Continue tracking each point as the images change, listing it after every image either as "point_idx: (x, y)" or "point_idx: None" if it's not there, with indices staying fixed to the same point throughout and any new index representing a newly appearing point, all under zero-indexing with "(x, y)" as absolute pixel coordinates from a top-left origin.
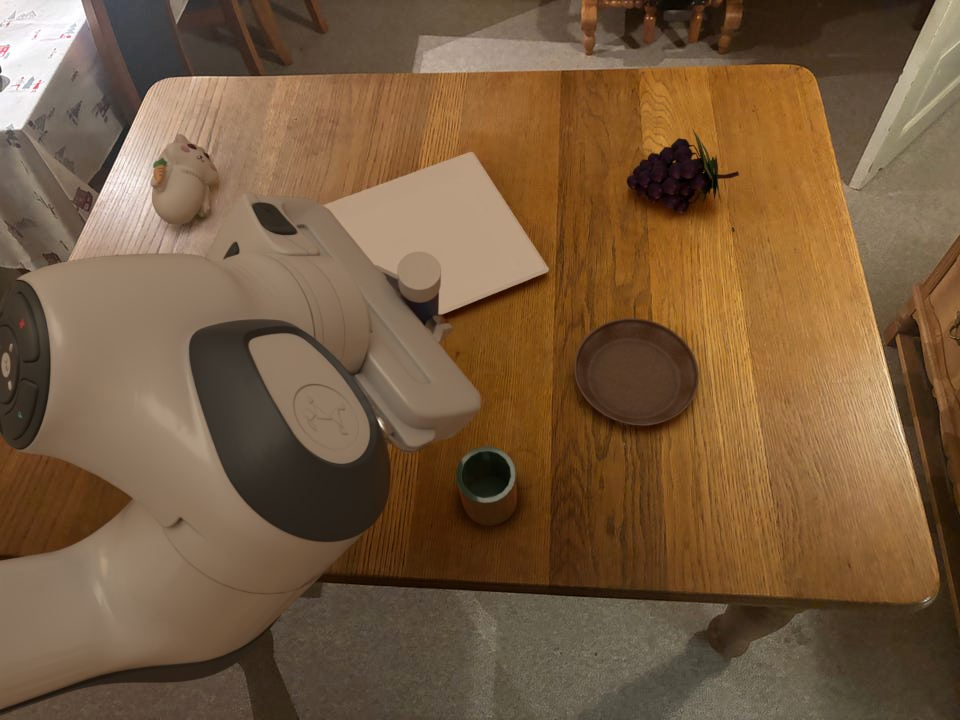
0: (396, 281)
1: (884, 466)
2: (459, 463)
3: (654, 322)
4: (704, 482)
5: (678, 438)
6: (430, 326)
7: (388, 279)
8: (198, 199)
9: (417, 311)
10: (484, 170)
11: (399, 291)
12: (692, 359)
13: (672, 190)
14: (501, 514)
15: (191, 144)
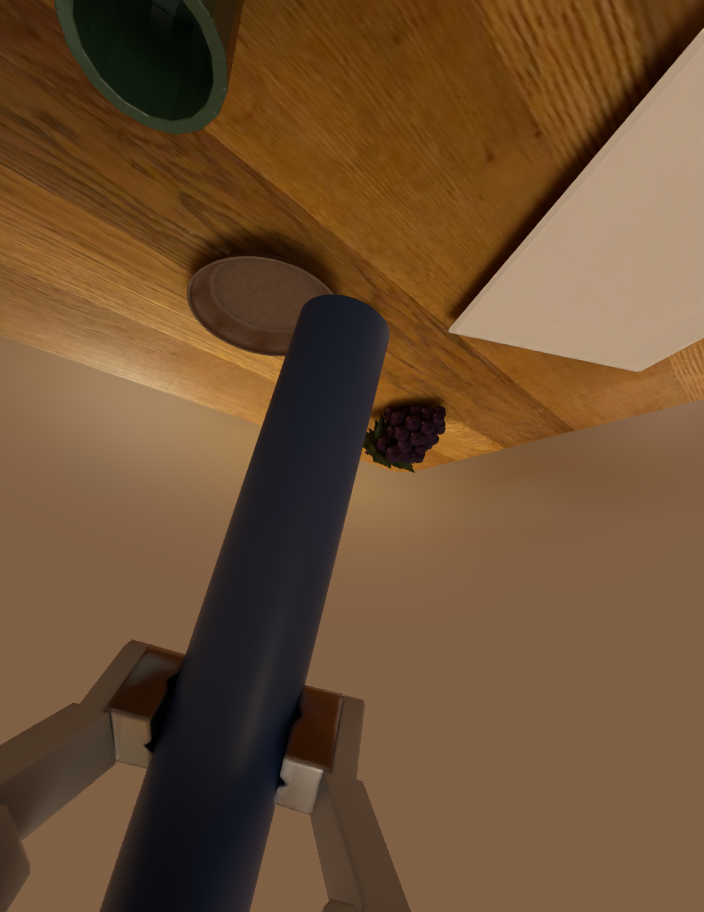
0: (319, 838)
1: (83, 357)
2: (203, 7)
3: None
4: (103, 261)
5: (172, 277)
6: (125, 748)
7: (330, 882)
8: None
9: (117, 884)
10: (608, 365)
11: (303, 792)
12: (246, 348)
13: (396, 432)
14: None
15: None
